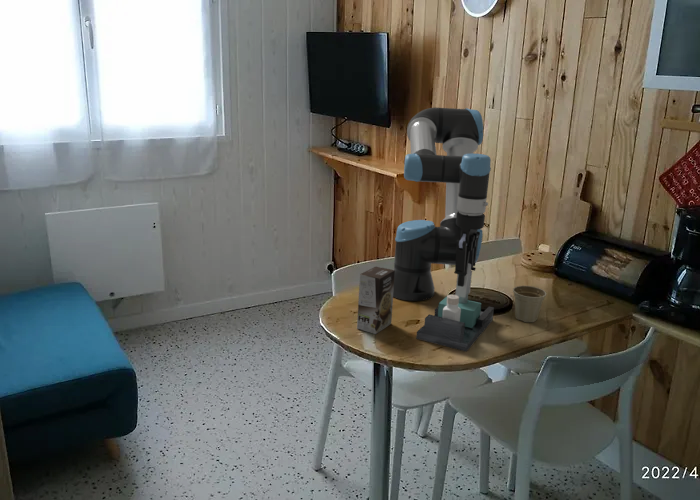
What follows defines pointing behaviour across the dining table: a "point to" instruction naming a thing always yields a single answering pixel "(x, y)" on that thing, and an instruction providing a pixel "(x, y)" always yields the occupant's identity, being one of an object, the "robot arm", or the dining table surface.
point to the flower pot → (528, 302)
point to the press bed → (464, 342)
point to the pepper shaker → (452, 308)
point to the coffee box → (375, 299)
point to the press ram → (465, 306)
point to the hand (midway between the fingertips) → (462, 294)
